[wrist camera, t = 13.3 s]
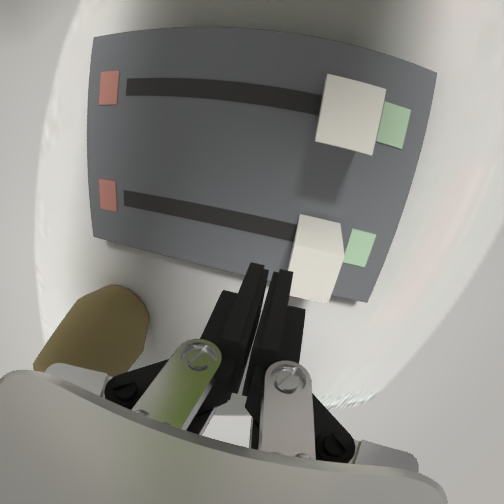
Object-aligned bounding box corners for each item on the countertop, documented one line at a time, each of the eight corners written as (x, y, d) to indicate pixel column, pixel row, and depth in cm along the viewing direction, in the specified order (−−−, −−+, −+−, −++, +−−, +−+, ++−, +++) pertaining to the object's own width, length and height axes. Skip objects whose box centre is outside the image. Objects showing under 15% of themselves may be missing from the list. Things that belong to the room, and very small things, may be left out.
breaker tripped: (300, 214, 18) (294, 244, 14) (340, 223, 18) (344, 256, 14) (290, 256, 19) (282, 293, 16) (328, 265, 19) (327, 304, 16)
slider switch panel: (110, 39, 16) (92, 37, 14) (425, 74, 14) (437, 72, 12) (106, 226, 24) (92, 237, 23) (364, 286, 22) (367, 303, 20)
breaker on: (325, 80, 14) (327, 73, 10) (370, 91, 13) (386, 89, 10) (315, 131, 15) (315, 141, 12) (360, 142, 15) (371, 155, 12)
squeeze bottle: (85, 295, 30) (-14, 411, 14) (114, 259, 26) (-16, 403, 11) (135, 344, 32) (57, 471, 16) (174, 319, 28) (81, 483, 13)
